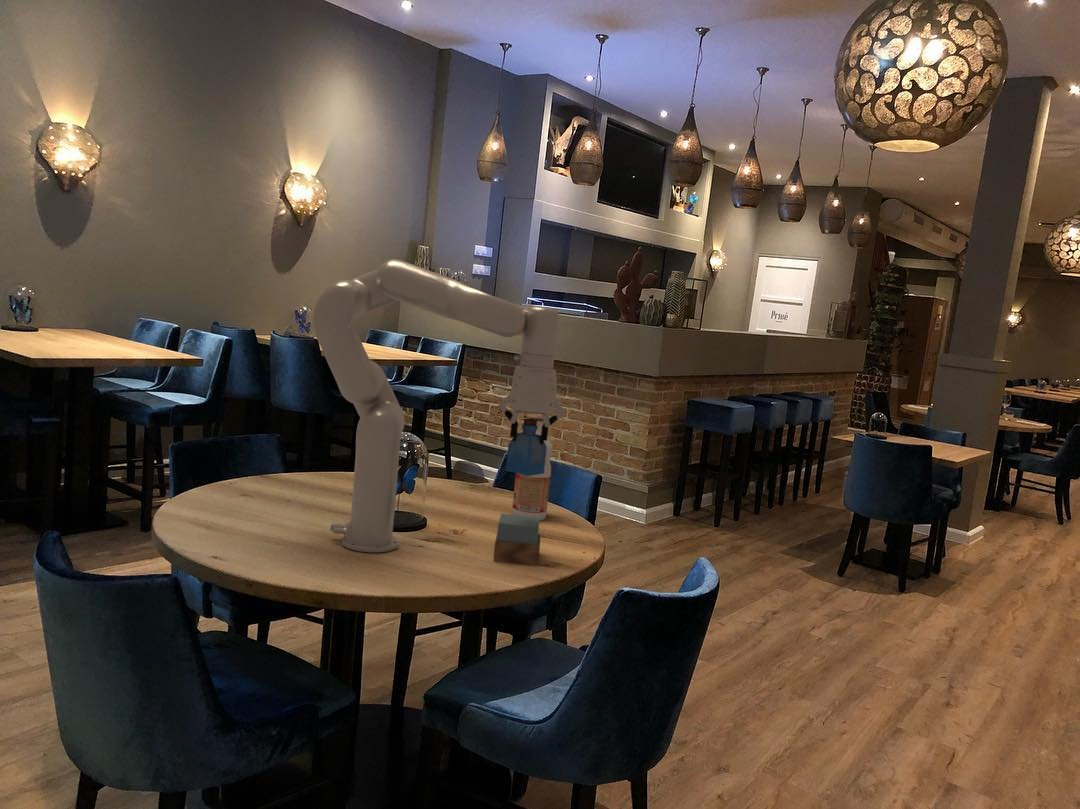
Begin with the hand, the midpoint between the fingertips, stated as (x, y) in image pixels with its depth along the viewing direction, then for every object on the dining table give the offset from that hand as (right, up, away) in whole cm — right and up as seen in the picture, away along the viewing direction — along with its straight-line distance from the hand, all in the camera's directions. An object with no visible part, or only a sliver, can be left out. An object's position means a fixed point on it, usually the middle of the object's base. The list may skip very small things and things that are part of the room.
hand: (528, 441), depth 192 cm
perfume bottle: (-1, -7, +1) cm, 7 cm away
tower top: (-2, -22, +3) cm, 22 cm away
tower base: (-3, -27, +3) cm, 27 cm away
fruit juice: (-1, -23, +41) cm, 47 cm away
